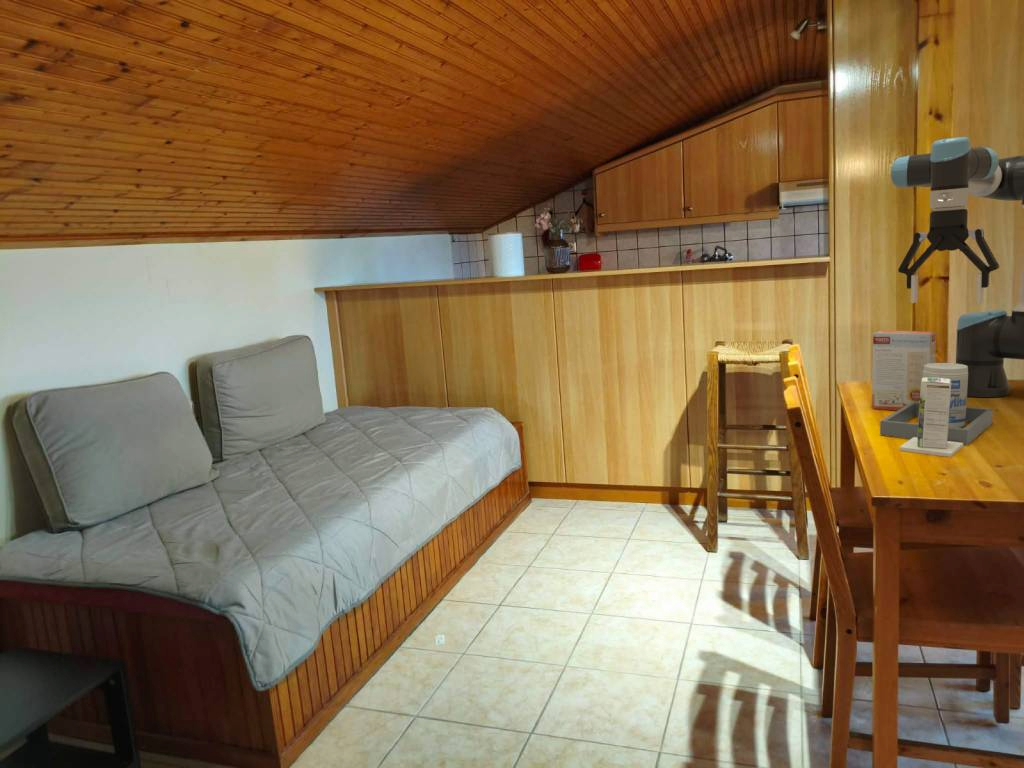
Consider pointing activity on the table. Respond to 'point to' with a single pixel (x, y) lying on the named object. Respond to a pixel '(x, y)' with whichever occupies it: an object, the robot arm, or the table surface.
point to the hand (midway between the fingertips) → (946, 302)
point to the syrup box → (934, 412)
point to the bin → (976, 416)
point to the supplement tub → (952, 388)
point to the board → (947, 452)
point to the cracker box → (900, 366)
